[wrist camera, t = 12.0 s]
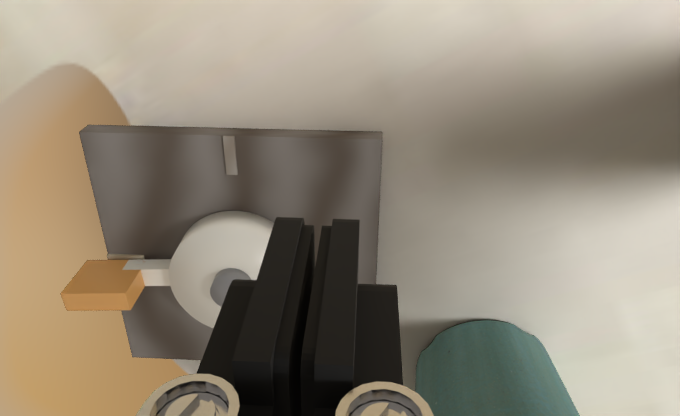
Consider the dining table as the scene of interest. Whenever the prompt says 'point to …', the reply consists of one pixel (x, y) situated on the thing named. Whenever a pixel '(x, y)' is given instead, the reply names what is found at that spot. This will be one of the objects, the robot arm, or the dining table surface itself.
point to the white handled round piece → (180, 268)
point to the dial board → (221, 201)
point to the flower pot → (490, 373)
